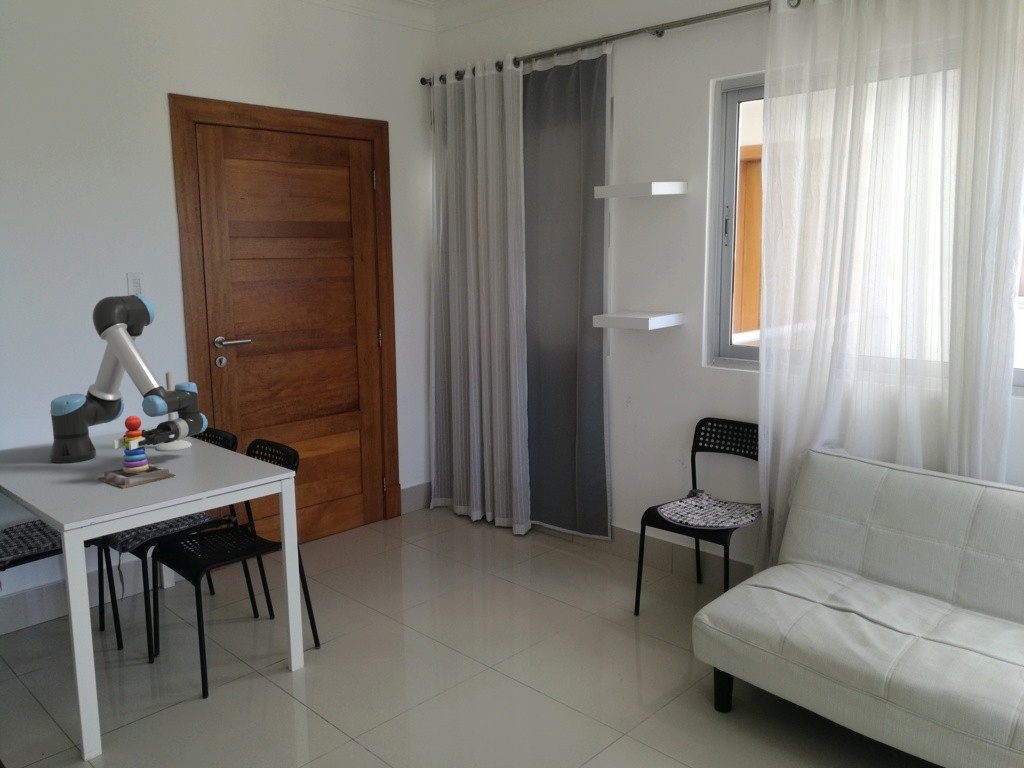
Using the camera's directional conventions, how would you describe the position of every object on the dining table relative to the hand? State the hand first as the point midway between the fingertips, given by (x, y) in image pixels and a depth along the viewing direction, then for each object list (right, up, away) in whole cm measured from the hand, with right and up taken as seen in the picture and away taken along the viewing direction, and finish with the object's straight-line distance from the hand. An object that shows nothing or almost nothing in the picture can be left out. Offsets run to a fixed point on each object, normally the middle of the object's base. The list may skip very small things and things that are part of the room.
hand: (122, 445), depth 275 cm
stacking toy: (+2, -9, +6) cm, 11 cm away
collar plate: (+2, -12, +7) cm, 14 cm away
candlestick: (-4, -5, +51) cm, 52 cm away
